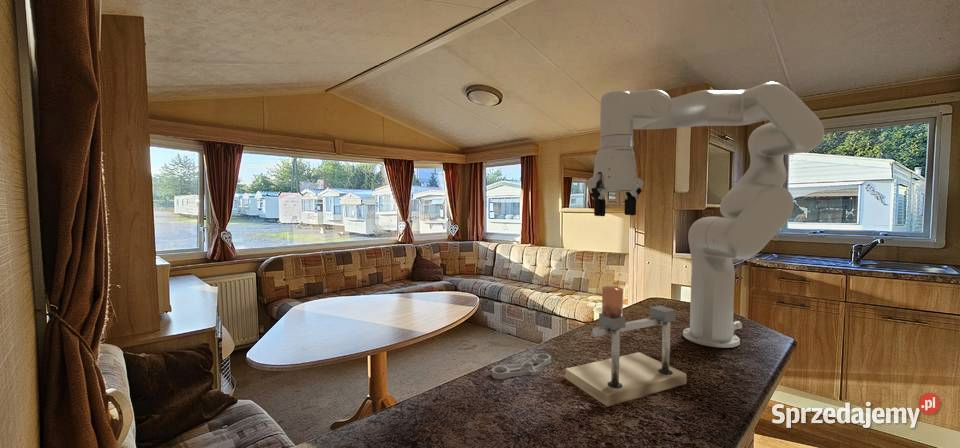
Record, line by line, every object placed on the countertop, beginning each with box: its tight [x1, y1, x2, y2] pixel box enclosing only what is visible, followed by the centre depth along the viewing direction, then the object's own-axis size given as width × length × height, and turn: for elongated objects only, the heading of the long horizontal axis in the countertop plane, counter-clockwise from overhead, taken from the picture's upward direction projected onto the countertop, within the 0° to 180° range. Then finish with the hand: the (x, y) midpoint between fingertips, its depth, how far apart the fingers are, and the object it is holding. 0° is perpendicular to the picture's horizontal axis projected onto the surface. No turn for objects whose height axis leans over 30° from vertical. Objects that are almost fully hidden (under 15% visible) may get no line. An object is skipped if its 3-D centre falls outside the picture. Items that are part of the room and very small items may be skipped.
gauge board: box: [564, 351, 687, 407], centre depth 78 cm, size 20×12×2 cm, turn 114°
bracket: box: [491, 353, 552, 380], centre depth 84 cm, size 8×2×15 cm
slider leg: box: [598, 285, 627, 385], centre depth 72 cm, size 4×4×18 cm
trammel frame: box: [592, 305, 677, 373], centre depth 75 cm, size 18×4×12 cm, turn 114°
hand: (615, 215), depth 95 cm, fingers open, 9 cm apart
